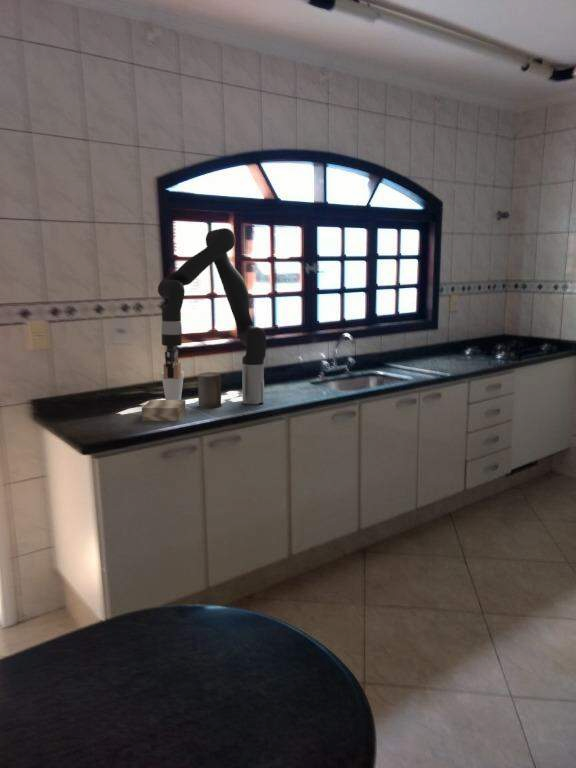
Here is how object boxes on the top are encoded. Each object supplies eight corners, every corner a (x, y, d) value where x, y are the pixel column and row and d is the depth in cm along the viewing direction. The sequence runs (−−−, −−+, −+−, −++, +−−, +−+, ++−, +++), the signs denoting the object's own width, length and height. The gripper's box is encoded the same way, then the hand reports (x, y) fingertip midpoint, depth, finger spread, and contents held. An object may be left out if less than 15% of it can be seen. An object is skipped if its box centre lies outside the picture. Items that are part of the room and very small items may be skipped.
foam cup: (162, 404, 245) (161, 374, 243) (161, 399, 254) (160, 370, 252) (185, 403, 248) (184, 373, 245) (183, 398, 257) (182, 370, 254)
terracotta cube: (180, 376, 224) (180, 362, 223) (178, 379, 219) (177, 365, 218) (166, 376, 224) (166, 362, 223) (163, 378, 219) (163, 364, 218)
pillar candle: (225, 404, 246) (224, 369, 244) (214, 409, 238) (213, 373, 235) (205, 402, 250) (204, 368, 247) (194, 407, 241) (192, 372, 238)
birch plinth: (185, 412, 232) (185, 400, 231) (178, 420, 218) (178, 408, 217) (151, 411, 232) (150, 399, 231) (142, 420, 219) (141, 407, 218)
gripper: (177, 334, 211) (178, 379, 215) (184, 331, 226) (185, 373, 229) (157, 334, 211) (158, 379, 215) (165, 330, 226) (166, 373, 229)
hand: (172, 376), depth 222 cm, fingers closed on terracotta cube, 5 cm apart
